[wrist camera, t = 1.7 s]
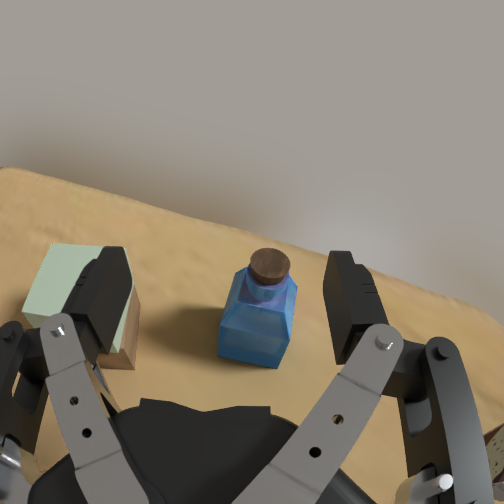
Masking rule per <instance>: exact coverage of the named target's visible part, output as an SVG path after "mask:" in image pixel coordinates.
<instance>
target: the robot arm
mask: <svg viewBox="0 0 504 504" xmlns="http://www.w3.org/2000/svg"><path fill="white" fill-rule="evenodd" d="M131 289H132V275H131V271H130V268H129V264H128V261H127V257H126V254H125V251H124V248H123V247H119V246H105V247H103V249H102V250H101V252H100V254H99V256H98V258H97V259H92V260H91V261H90V262H89V263H88V264H87V265H86V266H85V267H84V268H83V270H82V272H81V273H80V275H79V278H78V279H77V281H76V283H75V286H73V288H72V290H71V292H70V294H69V296H68V298H67V300H66V302H65V304H64V306H63V308H62V310H61V312H60V313H57V314H54V315H51V316H50V317H48V318H47V319H46V320H45V321H44V322H43V324H42V326H41V327H39V328H34V329H28V330H25V329H24V328H23V326H22V325H21V324H20V323H19V322H17V321H10V322H8V323H6V324H4V325H3V326H2V327H1V328H0V503H3V504H377V503H376V502H375V501H373V500H372V499H371V498H370V497H369V496H368V495H367V494H366V493H365V492H364V491H363V490H362V489H361V488H360V487H359V486H358V485H357V484H356V483H355V482H353V481H352V480H351V479H350V478H349V477H348V476H347V475H346V474H345V473H344V472H343V471H342V470H341V469H340V468H339V467H340V466H341V464H342V463H343V461H344V460H345V458H346V457H347V455H348V454H349V452H350V450H351V449H352V447H353V446H354V444H355V442H356V441H357V439H358V438H359V436H360V434H361V433H362V431H363V429H364V427H365V426H366V424H367V422H368V420H369V419H370V417H371V415H372V413H373V412H374V410H375V408H376V406H377V404H378V402H379V400H380V398H381V395H386V396H391V397H396V398H397V401H398V407H399V413H400V419H401V425H402V432H403V439H404V447H405V455H406V463H407V472H408V478H407V479H406V480H404V481H403V482H402V483H401V484H400V486H399V487H398V489H397V492H396V499H395V504H494V496H493V488H492V481H491V474H490V468H489V462H488V457H487V452H486V447H485V442H484V437H483V433H482V428H481V424H480V420H479V416H478V412H477V408H476V405H475V401H474V397H473V394H472V391H471V387H470V384H469V381H468V377H467V374H466V371H465V368H464V365H463V362H462V359H461V356H460V353H459V350H458V348H457V347H456V345H455V344H454V343H453V342H452V341H450V340H449V339H447V338H444V337H434V338H432V339H430V340H429V341H428V342H427V344H426V345H424V344H420V343H415V342H410V341H407V340H404V339H403V338H402V336H401V334H400V333H399V332H398V331H397V330H396V329H395V328H393V327H392V326H390V325H389V323H388V320H387V317H386V314H385V311H384V308H383V305H382V302H381V300H380V297H379V294H378V291H377V289H376V286H375V283H374V280H373V278H372V275H371V273H370V272H369V271H368V270H367V269H366V268H365V267H364V266H363V265H362V264H355V263H354V260H353V257H352V254H351V252H350V251H330V253H329V257H328V262H327V266H326V271H325V276H324V280H323V296H324V301H325V306H326V311H327V316H328V322H329V327H330V332H331V338H332V343H333V349H334V354H335V360H336V365H342V364H345V365H344V367H343V368H342V370H341V371H340V373H338V374H337V375H336V376H335V377H334V379H333V380H332V382H331V383H330V385H329V386H328V388H327V389H326V390H325V392H324V393H323V395H322V396H321V398H320V399H319V400H318V402H317V403H316V405H315V406H314V407H313V409H312V410H311V411H310V413H309V414H308V415H307V417H306V418H305V419H304V421H303V422H302V423H301V425H300V426H299V427H298V426H297V425H296V424H294V423H292V422H291V421H289V420H287V419H285V418H282V417H279V416H276V415H272V414H270V406H234V407H229V408H224V409H218V410H213V411H207V412H201V411H198V410H194V409H191V408H188V407H185V406H182V405H179V404H177V403H174V402H171V401H161V400H153V399H145V398H141V400H140V405H139V406H136V407H132V408H128V409H126V410H123V411H121V409H120V408H119V406H118V405H117V403H116V401H115V399H114V398H113V395H112V393H111V391H110V389H109V387H108V385H107V382H106V380H105V378H104V376H103V373H102V371H101V369H100V366H99V364H98V362H97V357H98V354H106V355H109V352H110V349H111V346H112V343H113V340H114V337H115V334H116V331H117V329H118V326H119V323H120V320H121V317H122V314H123V311H124V309H125V306H126V303H127V300H128V298H129V295H130V292H131ZM18 371H19V372H20V373H21V375H20V378H19V381H18V384H17V387H16V390H15V393H14V396H13V397H12V387H13V384H14V381H15V379H16V376H17V373H18ZM48 394H49V395H50V399H51V402H52V405H53V408H54V412H55V415H56V418H57V421H58V424H59V426H60V429H61V432H62V435H63V438H64V440H65V443H66V445H67V448H68V451H69V453H68V454H67V455H66V456H65V457H64V458H62V459H61V460H60V461H59V462H57V463H56V464H55V465H54V466H53V467H51V468H50V469H49V470H48V471H47V472H45V473H44V474H43V475H42V476H41V477H40V475H41V473H40V470H39V468H38V466H37V462H36V459H35V458H34V451H35V447H36V442H37V437H38V433H39V429H40V425H41V420H42V416H43V413H44V409H45V405H46V401H47V398H48Z"/></svg>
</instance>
